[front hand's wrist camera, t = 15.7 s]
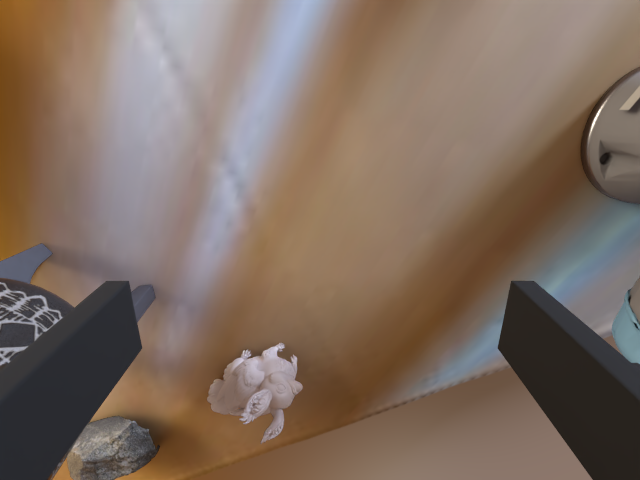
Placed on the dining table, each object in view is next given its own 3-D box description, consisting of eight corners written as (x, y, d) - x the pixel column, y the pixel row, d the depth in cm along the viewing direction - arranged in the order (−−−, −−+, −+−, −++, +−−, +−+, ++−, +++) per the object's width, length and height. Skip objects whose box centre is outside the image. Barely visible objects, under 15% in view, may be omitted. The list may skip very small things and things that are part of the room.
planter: (-22, 281, 47) (-392, 476, 23) (83, 194, 44) (-227, 316, 19) (94, 381, 53) (-102, 624, 28) (196, 312, 49) (71, 525, 24)
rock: (146, 404, 54) (124, 443, 48) (175, 444, 57) (158, 485, 51) (69, 428, 56) (38, 469, 50) (101, 466, 59) (76, 508, 53)
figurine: (318, 360, 52) (318, 436, 40) (236, 408, 55) (213, 493, 43) (283, 319, 50) (271, 388, 38) (199, 373, 53) (165, 451, 41)
